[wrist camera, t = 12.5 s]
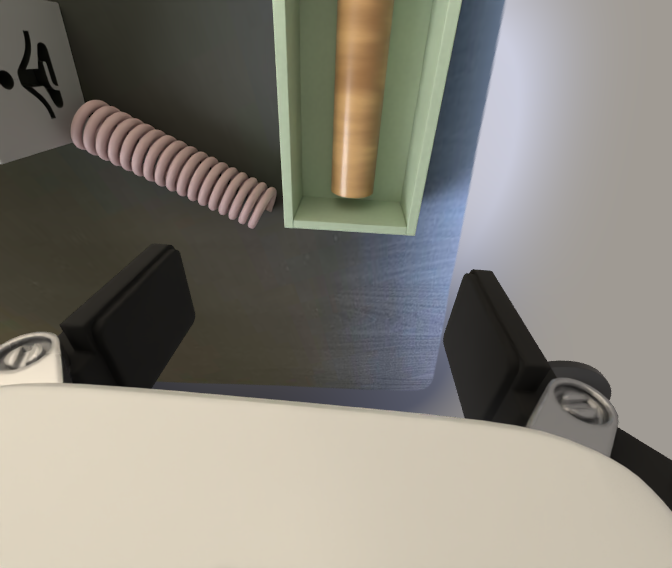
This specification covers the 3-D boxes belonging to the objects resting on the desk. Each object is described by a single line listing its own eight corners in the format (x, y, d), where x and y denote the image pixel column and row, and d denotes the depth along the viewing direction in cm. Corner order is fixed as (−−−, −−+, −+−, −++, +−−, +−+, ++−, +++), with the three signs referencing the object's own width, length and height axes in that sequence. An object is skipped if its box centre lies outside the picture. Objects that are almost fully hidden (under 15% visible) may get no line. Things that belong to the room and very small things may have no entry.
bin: (459, -101, 22) (493, -152, 16) (405, 207, 34) (414, 236, 29) (286, -108, 22) (263, -160, 17) (296, 200, 34) (284, 227, 29)
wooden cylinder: (360, -37, 24) (326, -50, 21) (409, -42, 22) (379, -57, 19) (346, 181, 33) (322, 190, 30) (380, 190, 31) (357, 201, 29)
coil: (63, 152, 29) (256, 241, 33) (59, 99, 26) (272, 204, 30) (98, 136, 32) (269, 218, 36) (98, 88, 29) (283, 183, 33)
